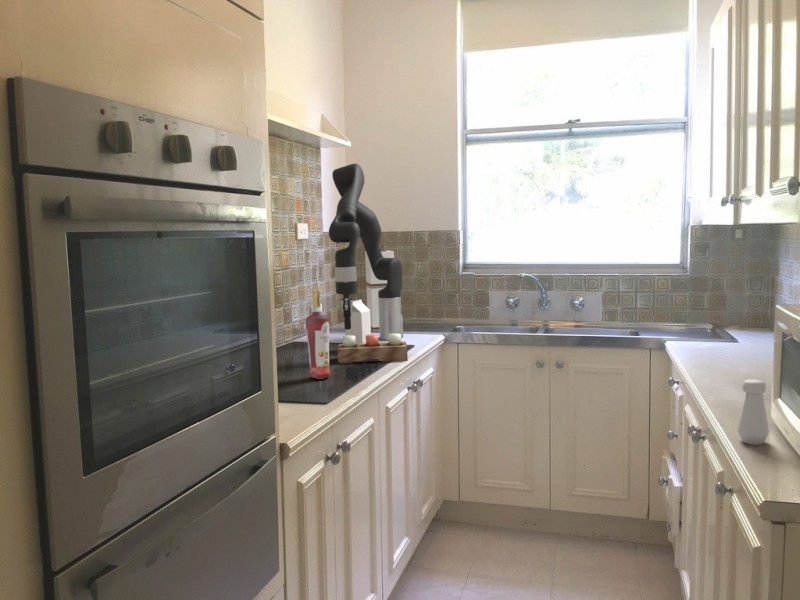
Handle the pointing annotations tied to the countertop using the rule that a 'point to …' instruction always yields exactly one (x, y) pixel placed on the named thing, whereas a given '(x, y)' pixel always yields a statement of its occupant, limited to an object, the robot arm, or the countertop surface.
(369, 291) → the white notched tower
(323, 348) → the liquor
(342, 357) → the wooden ball rack
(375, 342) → the red ball
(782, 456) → the countertop surface
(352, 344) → the pale green sphere
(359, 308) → the milk carton
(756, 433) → the salt shaker
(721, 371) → the countertop surface
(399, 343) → the cream white sphere
